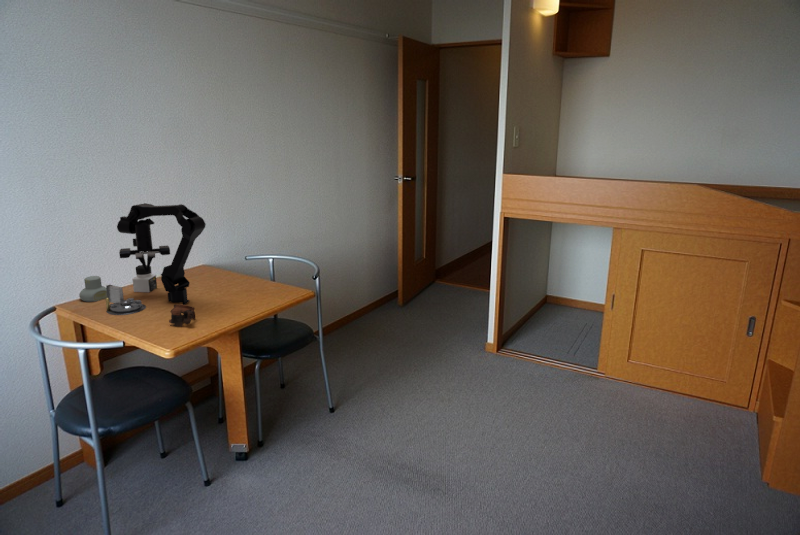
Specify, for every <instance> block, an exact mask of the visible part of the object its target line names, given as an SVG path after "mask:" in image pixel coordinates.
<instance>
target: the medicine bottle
mask: <svg viewBox="0 0 800 535" xmlns="http://www.w3.org/2000/svg"><path fill="white" fill-rule="evenodd" d="M146 267H147V264H146ZM135 275H136V276H135V277H133V278H132V287H133V292H134V293H152V292H153V291H155V290H156V289H158V282H157V275H156V274H152V267H151V265H150V267H149V271H148V272H146V271H145V269H144V267H143V265H142V264H140V265H137V266H136V267H135Z"/></svg>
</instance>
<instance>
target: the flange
mask: <svg viewBox="0 0 800 535" xmlns="http://www.w3.org/2000/svg"><path fill="white" fill-rule="evenodd" d="M104 300H105V306H106V314H108V315H111V316H128V315H135V314H137V313H140V312H143V311H144V310H145V309H147V306H146V305H145V304H143V303H141V304H142V307H141V308H140V309H139V310H136V311H133V312H128V313H114V312H112V311H111V309H110V304H111V302H109V298H108V297H107V298H105V299H104Z"/></svg>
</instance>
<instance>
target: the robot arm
mask: <svg viewBox="0 0 800 535" xmlns="http://www.w3.org/2000/svg"><path fill="white" fill-rule="evenodd" d="M156 216H157V217H159V216H163V217H164V216H174V217H175V218H176V221H177V223H178V225H180V227H181V229H180V232H181V234H182V237H181V239H180V242H179V244H178V247H177V249H176V252H175V254H174V256H173V259H172V261H171V264H169V265H167V266H164V267H163V269H162V272H161V274H160V276H161V277H160V281H161V282H162V285H163V287H164V290H165V292H167V300H168V302H169V303H172V304H181V303H182V305H187V304H188V303H189V302H190V299H188V291H187V288H189V287H190V281H189V280H188V279H187V278H186V276H185V274H186V273H185V266H186V263H187V260H188V258H189V255H190V253H191V251H192V248H193V245H194V243H195V241H196V240H197V238H198V237H199V236H200V235H201V234H202V233H203V231H204V229H205V228H206V226H207V225H206V221H205V220H204V218H202V217H201V216H200V215H199V214H197V213H196V212H194V211H193V210H191V209H190V208H188V207H187V206H186V205H185V204H182V203H181V204H175V205H174V204H172V205H171V204H170V205H169V204H168V205H154V204H151V203H139V204H133V205H131V207H130V211H129V212H128V214H127V216H120V217H119V219H120V220H119V221H118V222H117V225H116V229H117V231H118V232H119V233H121V234H128V235H135V238H132V246H133V247H136V249H131V248H130V247H128V248H127V247H126V248H120V249H119V251H118V253H119V259H129V258H130V257H131V256H135V259H136V260H139V261H140V264H141V265H143V267H144V269H145V271H146V272H148V271H149V267H150V266H151V263H152V261H153V259H155V258H156V254H160V255H162V256H168V255H171V248H170V246H169V245H167V244H166V245H159V246H158V247H157V248H153V241H152V239H153V238H152V232H151V225H155V221H153V220H152V219H151V217H156ZM145 255H147V259H145ZM146 265H147V267H146Z"/></svg>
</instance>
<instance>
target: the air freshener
mask: <svg viewBox="0 0 800 535" xmlns="http://www.w3.org/2000/svg"><path fill="white" fill-rule="evenodd" d="M83 282H84V288H83V289H82V290H81V291H79V296H78V297H79V299H80V300H82V301H83V302H87V303H91V302H93V303H94V302H98V301H102V300H105V298H108V297H107V289H106V286H103V285H102V279H101V277H100V276H99V275H90V276H86V277H84V281H83Z"/></svg>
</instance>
